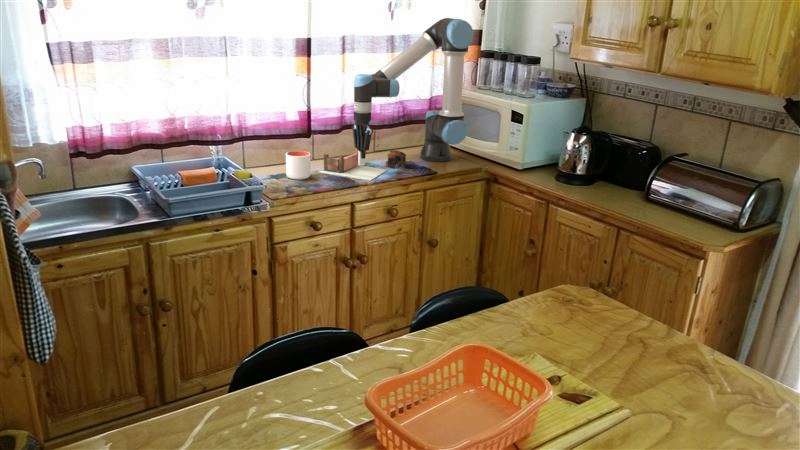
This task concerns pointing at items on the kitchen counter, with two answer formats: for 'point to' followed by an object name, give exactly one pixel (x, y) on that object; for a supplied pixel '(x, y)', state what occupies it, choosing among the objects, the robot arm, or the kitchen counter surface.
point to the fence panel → (351, 161)
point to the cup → (298, 165)
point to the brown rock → (396, 158)
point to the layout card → (358, 172)
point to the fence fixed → (334, 163)
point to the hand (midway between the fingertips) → (361, 165)
